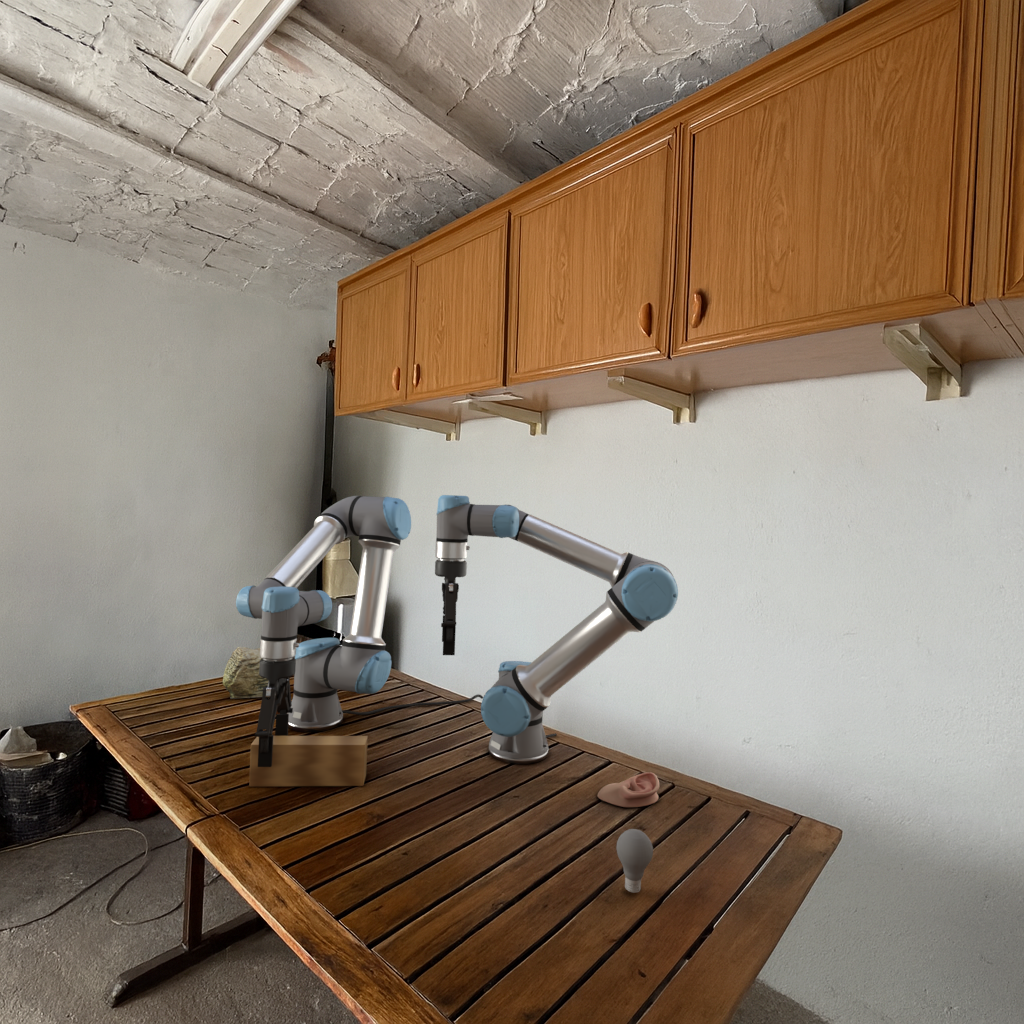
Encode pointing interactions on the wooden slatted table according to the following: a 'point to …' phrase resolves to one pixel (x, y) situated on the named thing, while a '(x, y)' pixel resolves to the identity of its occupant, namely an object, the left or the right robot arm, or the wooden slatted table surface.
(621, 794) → the anatomical model
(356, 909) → the wooden slatted table surface
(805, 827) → the wooden slatted table surface
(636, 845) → the light bulb
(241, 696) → the fossil
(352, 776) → the bar
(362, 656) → the left robot arm
